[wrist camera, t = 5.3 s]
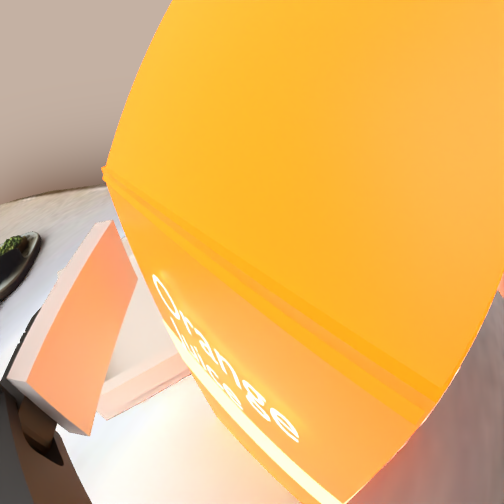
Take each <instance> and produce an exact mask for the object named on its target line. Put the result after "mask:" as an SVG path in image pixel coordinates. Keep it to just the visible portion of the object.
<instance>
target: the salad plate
mask: <svg viewBox="0 0 504 504" xmlns="http://www.w3.org/2000/svg"><path fill="white" fill-rule="evenodd" d="M40 244H41V237H40V235H39V234H38V233H36V232H33V231H32V232H28V233H25V234H23V235H21V236H20V235H18V236H13V237H11V238H10V239H6V241H5V242H4V243H2V244H0V301H2V300H3V299H4V298H6V297H7V296H8V295H9V294H11V293H12V292H13V291H14V290H15V289H16V288H17V287H18V286H19V284H20V283H21V282H22V281H23V279H24V278H25V276H26V274H27V273H28V271H29V270H30V268H31V266H32V264H33V262H34V260H35V258H36V257H37V255H38V253H39V249H40Z"/></svg>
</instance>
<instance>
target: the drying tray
mask: <svg viewBox="0 0 504 504" xmlns="http://www.w3.org/2000/svg"><path fill="white" fill-rule="evenodd" d="M121 241H122V243H123V246H124V248H125V250H126V253H127V255H128V257H129V260H130V262H131V264H132V267H133V269H134V271H135V273H136V275H137V278H138V281H137V284H136V287H135V289H134V292H133V295H132V297H131V300H130V303H129V306H128V308H127V311H126V314H125V317H124V320H123V323H122V326H121V329H120V332H119V335H118V338H117V341H116V344H115V347H114V350H113V353H112V356H111V360H110V363H109V366H108V370H107V373H106V376H105V380H104V383H103V387H102V390H101V394H100V398H99V401H98V405H97V409H96V411H97V412H98V413H99V414H100V415H101V416H102V417H103V418H104V419H106V420H108V419H110V418H112V417H114V416H116V415H118V414H120V413H122V412H124V411H125V410H127V409H129V408H131V407H133V406H135V405H137V404H138V403H140V402H142V401H144V400H146V399H147V398H149V397H151V396H153V395H155V394H156V393H158V392H160V391H162V390H164V389H165V388H167V387H169V386H171V385H172V384H174V383H176V382H177V381H179V380H181V379H183V378H184V377H186V376H188V375H189V374H191V371H190V370H189V368H188V366H187V364H186V363H185V361H184V360H183V359H182V357H181V355H180V353H179V351H178V349H177V348H176V346H175V344H174V342H173V340H172V338H171V336H170V334H169V332H168V330H167V328H166V326H165V324H164V322H163V318H162V316H161V314H160V311H159V309H158V307H157V305H156V303H155V301H154V299H153V297H152V295H151V292H150V290H149V288H148V286H147V284H146V281H145V279H144V277H143V275H142V272H141V270H140V268H139V266H138V263H137V261H136V259H135V256H134V254H133V251H132V249H131V247H130V244H129V242H128V239H127V237H126V236H125V237H123V238H121ZM64 269H65V268H64ZM64 269H62V270H60V271H58V272H57V274H58V279H59V277H60V275H61V274H62V272H63V271H64Z"/></svg>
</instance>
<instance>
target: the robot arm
mask: <svg viewBox="0 0 504 504" xmlns="http://www.w3.org/2000/svg"><path fill="white" fill-rule="evenodd" d="M137 281H138V278H137V275H136V273H135V271H134V269H133V267H132V264H131V262H130V260H129V257H128V255H127V253H126V250H125V248H124V246H123V243H122V241H121V239H120V236H119V234H118V231H117V229H116V226H115V224H114V221H113V220H108V221H104V222H99V223H95V225H94V226H93V227H92V229H91V230H90V232H89V233H88V234H87V236H86V237H85V239H84V240H83V242H82V243H81V245H80V246H79V248H78V249H77V251H76V252H75V254H74V255H73V257H72V258H71V260H70V261H69V263H68V264H67V266H66V267H65V269H64V271H63V272H62V274H61V275H60V277H59V279H58V280H57V282H56V284H55V285H54V287H53V289H52V290H51V292H50V294H49V295H48V297H47V299H46V300H45V302H44V304H43V306H42V307H41V308H40V309H39V310H38V311H37V312H36V313H35V315H34V316H33V317H32V318H31V320H30V322H29V324H28V326H27V328H26V330H25V331H26V332H25V333H23V335H22V337H21V339H20V343H18V345H17V347H16V349H15V351H14V353H13V355H12V357H11V360H10V362H9V364H8V366H7V368H6V370H5V373H4V375H3V377H2V380H1V381H0V504H92V503H91V501H90V499H89V497H88V495H87V493H86V491H85V489H84V487H83V485H82V483H81V481H80V479H79V477H78V475H77V473H76V471H75V469H74V467H73V464H72V462H71V460H70V458H69V455H68V453H67V451H66V448H65V446H64V443H63V441H62V438H61V437H60V435H59V434H58V432H56V431H55V429H56V425H57V423H58V424H59V425H60V426H61V427H63V428H64V429H65V430H67V431H68V432H70V433H75V434H80V435H85V436H90V433H91V429H92V425H93V421H94V417H95V413H96V409H97V405H98V401H99V398H100V394H101V390H102V387H103V383H104V380H105V376H106V373H107V370H108V366H109V363H110V360H111V356H112V353H113V350H114V347H115V344H116V341H117V338H118V335H119V332H120V329H121V326H122V323H123V320H124V317H125V314H126V311H127V308H128V306H129V303H130V300H131V297H132V295H133V292H134V289H135V287H136V284H137ZM497 290H498V291H499V293H500V294H501V295H502V297H503V298H504V273H503V276H502V278H501V281H500V284H499V286H498V289H497Z"/></svg>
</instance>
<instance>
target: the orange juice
mask: <svg viewBox="0 0 504 504" xmlns="http://www.w3.org/2000/svg"><path fill="white" fill-rule="evenodd" d="M101 169H102V172H103V180H104V181H105V182H106V183H107V186H108V189H109V192H110V195H111V197H112V200H113V203H114V206H115V208H116V211H117V214H118V216H119V219H120V222H121V224H122V227H123V229H124V232H125V234H126V237H127V239H128V242H129V244H130V247H131V249H132V251H133V254H134V256H135V259H136V261H137V263H138V266H139V268H140V270H141V272H142V275H143V277H144V279H145V281H146V284H147V286H148V288H149V290H150V292H151V295H152V297H153V299H154V301H155V303H156V305H157V307H158V309H159V311H160V314H161V316H162V318H163V322H164V324H165V326H166V328H167V330H168V332H169V334H170V336H171V338H172V340H173V342H174V344H175V346H176V348H177V349H178V351H179V353H180V355H181V357H182V359H183V360H184V361H185V363H186V364H187V366H188V368H189V370H190V371H191V373H192V375H193V377H194V379H195V380H196V382H197V384H198V386H199V387H200V389H201V391H202V393H203V394H204V396H205V398H206V400H207V401H208V403H209V405H210V406H211V408H212V410H213V411H214V413H215V415H216V416H217V417H218V418H219V420H220V421H221V422H222V423H223V424H224V425H225V426H226V428H227V429H228V430H229V431H230V432H231V433H232V434H233V435H234V436H235V438H236V439H237V440H238V441H239V442H240V443H241V444H242V445H243V446H244V447H245V448H246V449H247V451H248V452H249V453H250V454H251V455H252V456H253V457H254V458H255V459H256V460H257V461H258V462H259V463H260V464H261V465H262V466H263V467H264V468H265V469H266V470H267V471H268V472H269V473H270V474H271V475H272V476H273V477H274V478H275V479H276V480H277V481H278V482H279V483H280V484H281V485H282V486H283V487H285V488H286V489H287V490H288V491H289V492H290V493H291V494H292V495H293V496H294V497H295V498H297V499H298V500H299V501H300V502H301V503H302V504H346V503H347V502H348V501H349V500H350V499H351V498H352V497H354V496H355V495H356V494H357V493H358V492H359V491H360V490H361V489H362V488H363V487H364V486H365V485H366V484H367V483H368V482H369V481H370V480H371V478H372V477H373V476H374V475H375V474H376V473H377V472H378V471H379V470H380V469H381V468H382V467H383V466H384V465H385V464H386V463H387V462H388V461H389V460H390V459H391V458H392V457H394V456H395V455H396V454H397V453H396V452H397V451H398V450H399V449H400V448H401V447H403V446H404V445H405V444H406V443H405V442H406V441H407V440H408V439H410V437H411V435H412V434H413V433H414V432H415V431H416V429H417V428H418V427H419V426H420V424H421V423H422V422H424V421H425V420H426V419H427V418H426V417H427V416H429V415H430V414H429V413H430V412H432V411H431V410H432V409H433V408H435V407H434V406H435V405H437V402H438V401H440V400H439V399H440V398H442V397H441V396H442V395H444V394H443V393H444V392H446V391H445V390H446V388H447V387H449V386H448V385H449V384H451V383H450V382H451V380H452V379H454V378H453V377H455V374H457V372H458V371H457V370H459V368H460V365H461V364H462V362H463V360H464V359H465V357H466V355H467V352H468V351H469V349H470V347H471V346H472V344H473V341H474V340H475V338H476V336H477V334H478V332H479V330H480V328H481V325H482V323H483V321H484V319H485V317H486V315H487V312H488V310H489V308H490V306H491V303H492V300H493V298H494V296H495V294H496V291H497V289H498V286H499V284H500V281H501V278H502V276H503V273H504V0H173V1H172V2H171V4H170V6H169V8H168V10H167V12H166V14H165V15H164V17H163V19H162V21H161V23H160V25H159V27H158V30H157V32H156V33H155V35H154V38H153V40H152V42H151V44H150V46H149V48H148V50H147V53H146V55H145V57H144V59H143V62H142V64H141V67H140V69H139V71H138V74H137V76H136V79H135V81H134V84H133V86H132V89H131V91H130V94H129V96H128V99H127V102H126V105H125V108H124V110H123V113H122V116H121V119H120V122H119V125H118V128H117V131H116V134H115V137H114V140H113V144H112V147H111V150H110V153H109V157H108V160H107V164H106V166H104V167H102V168H101ZM428 414H429V415H428ZM424 419H425V420H424ZM422 424H423V423H422ZM422 424H421V425H422ZM385 466H386V465H385Z"/></svg>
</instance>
